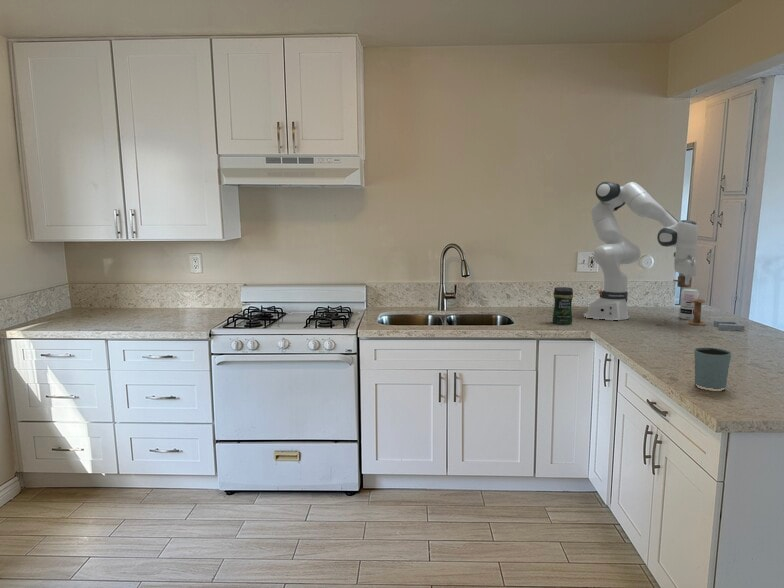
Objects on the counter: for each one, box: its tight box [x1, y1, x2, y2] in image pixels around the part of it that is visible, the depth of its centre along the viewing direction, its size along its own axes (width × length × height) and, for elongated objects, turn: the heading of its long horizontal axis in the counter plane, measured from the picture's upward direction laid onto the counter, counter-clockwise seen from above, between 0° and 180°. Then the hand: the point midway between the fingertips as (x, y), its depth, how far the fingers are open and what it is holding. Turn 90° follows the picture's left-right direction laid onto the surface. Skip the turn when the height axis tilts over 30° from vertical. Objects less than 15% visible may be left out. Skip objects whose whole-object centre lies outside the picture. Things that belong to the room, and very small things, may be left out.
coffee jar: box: [552, 286, 574, 325], centre depth 272 cm, size 10×8×19 cm
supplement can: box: [679, 288, 700, 321], centre depth 277 cm, size 8×8×15 cm
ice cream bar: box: [672, 275, 693, 289], centre depth 259 cm, size 8×3×5 cm, turn 29°
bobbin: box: [688, 298, 706, 327], centre depth 264 cm, size 7×7×12 cm
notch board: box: [713, 319, 746, 331], centre depth 255 cm, size 10×11×2 cm
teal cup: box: [693, 347, 732, 389], centre depth 172 cm, size 10×10×12 cm
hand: (684, 283), depth 258 cm, fingers closed on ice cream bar, 6 cm apart
